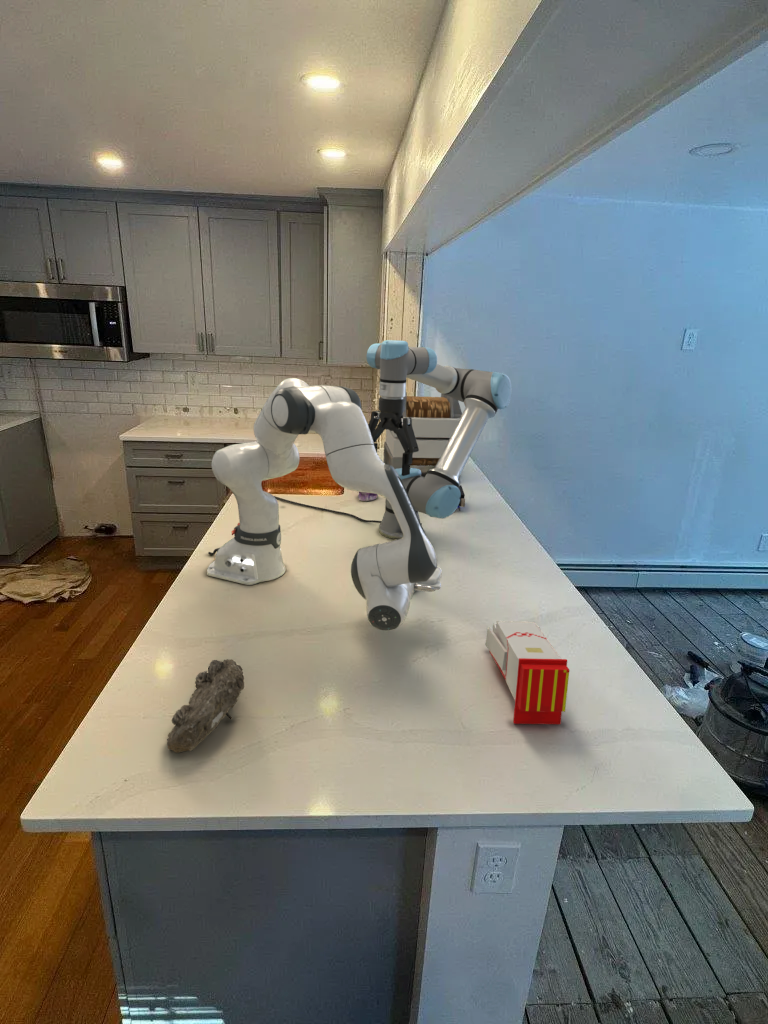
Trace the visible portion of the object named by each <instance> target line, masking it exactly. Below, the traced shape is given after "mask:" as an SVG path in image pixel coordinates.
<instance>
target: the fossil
mask: <svg viewBox="0 0 768 1024" xmlns="http://www.w3.org/2000/svg"><path fill="white" fill-rule="evenodd" d="M243 670H244V669H243V667H242V665H240V664H237V662H236V661H235V660H234V659H232V658H231V659H227V658H226V659H224V660H223V661H222V660H217V659H212V660H211V661H210V663H209V665H208V666H207V671H201V672H199V673H198V674H197V675H196V676H195V680H194V684H195V685H194V687H195V689H194V690H193V693H192V694H191V697H190V698H189V700H188V704H184V705H182V706H181V707H180V709H177V710H176V711H175V713H174V715H173V716H172V718H171V723H172V724H173V727H172V730H171V731H170V732H168V734H167V738H166V741H167V742H166V745H167V749H168V750H169V751H173V752H174V753H176V754H178V753H182V752H188V751H189V752H192V751H193V750H195V748H196V747H197V746H199V744H200V743H201V742H203V741H204V740H205V739H206V738H207V737H208V736H209V735H210V734H211V733H212V732H214V730H215V729H217V727H218V726H219V724H220V722H221V721H222V720H223V719H224V718H225V716H226V717H227V719H229V720H233V717H232V715H230V714H229V710H230V709H231V708H234V706H235V704H236V703H237V702H238V699H239V697H240V695H241V693H242V691H243V690H245V689H244V688H245V675H244V671H243Z"/></svg>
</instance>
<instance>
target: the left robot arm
mask: <svg viewBox="0 0 768 1024" xmlns="http://www.w3.org/2000/svg"><path fill="white" fill-rule="evenodd" d="M368 424H369V422H368V421H367V419H366V417H365V414H364V412H363V410H362V402H361V399H360V397H359V395H358V393H357V392H356V391H355V390H353V389H352V388H349V387H347V386H342V385H337V386H335V385H325V384H315V385H309V384H308V383H307V382H306V381H304V380H302V379H301V378H296V377H288V378H285V379H284V380H282V381H281V382H280V383H279V384H278V385H277V386H276V387H275V389H273V391H272V392H271V393H270V395H269V396H268V397H267V399H266V401H265V402H264V405H263V406H262V408H261V410H260V412H259V414H258V415H257V418H256V419H255V421H254V423H253V435H254V438H255V440H254V441H248V442H247V441H246V442H242V443H235V444H230V445H228V446H225V447H223V448H219V449H218V450H216V451H215V452H214V454H213V455H212V460H211V470H212V473H213V476H214V477H215V479H216V481H218V482H219V484H222V485H223V486H225V487H226V488H228V489H229V490H230V491H231V492H232V495H233V496H234V498H235V500H236V504H237V511H238V519H239V521H238V523H236V524H237V525H236V526H235V527H233V529H232V530H231V536H233V537H232V538H231V539H229V540H228V541H227V542H224V543H223V545H222V546H220V547H217V548H214V550H213V551H212V552H211V551H208V552H207V554H208V555H210V556H215V557H214V560H213V561H212V562H210V564H209V565H208V566H207V569H206V575H207V576H209V577H212V578H216V579H221V580H225V581H229V582H234V583H237V584H238V583H239V584H243V585H247V586H252V585H253V586H254V585H256V584H258V583H262V582H268V581H269V582H270V581H273V580H275V579H278V578H280V577H282V576H283V575H284V574H285V573H286V570H287V569H286V566H285V562H284V560H283V555H282V548H281V545H282V530H281V529H282V528H281V525H280V512H279V511H280V510H279V502H278V499H276V498H275V497H274V496H275V495H273V494H272V493H270V492H268V491H265V490H264V489H263V486H262V482H263V481H268V480H271V479H273V480H274V479H278V478H282V477H285V476H286V475H289V474H291V473H292V472H295V471H297V469H298V467H299V464H300V461H301V458H300V451H299V449H298V446H297V445H296V444H295V441H296V440H297V438H298V436H299V435H319V436H320V438H321V441H322V445H323V450H324V455H325V459H326V463H327V466H328V471H329V473H330V476H331V478H332V480H333V481H334V482H335V483H336V484H337V485H339V486H340V487H342V488H344V489H346V490H348V491H352V492H358V493H359V492H367V493H374V494H377V496H380V497H383V498H385V500H386V499H387V500H388V501H389V503H390V505H391V507H392V509H393V511H394V514H395V516H396V518H397V521H398V523H399V525H400V528H401V530H402V532H403V537H402V538H401V539H398V540H395V539H393V540H390V541H386V542H382V543H377V544H372V545H368V546H365V547H364V546H363V547H361V548H358V549H357V550H356V552H355V553H354V556H353V558H352V562H351V565H350V575H351V580H352V583H353V585H354V588H355V589H356V591H357V592H358V594H359V596H361V597H362V598H363V599H364V600H365V603H366V617H367V620H368V622H369V624H370V625H371V627H373V628H375V629H377V630H379V631H386V632H389V631H393V630H396V629H398V628H399V627H400V626H401V625H403V623H404V622H405V619H406V617H407V615H408V613H409V610H410V606H411V602H412V601H411V600H412V599H413V595H414V593H415V592H414V590H416V591H418V592H428V593H433V592H435V591H438V590H441V588H442V582H441V581H442V573H443V570H442V568H441V567H438V557H437V553H436V551H435V549H434V547H433V544H432V543H431V541H430V539H429V537H428V535H427V534H426V531H425V530H424V527H423V524H422V525H421V523H422V522H421V519H420V520H419V518H420V517H419V518H418V516H417V513H416V511H415V509H414V507H413V504H412V502H411V500H410V497H409V495H408V493H407V491H406V489H405V487H404V484H403V482H402V480H401V478H400V476H399V475H398V473H397V471H396V470H395V469H394V468H393V467H392V466H391V465H387V464H385V463H384V460H382V459H381V457H380V456H379V454H378V451H377V452H376V449H375V446H374V443H375V442H373V438H372V435H371V432H370V429H369V426H368ZM420 522H421V523H420Z"/></svg>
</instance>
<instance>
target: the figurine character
mask: <svg viewBox="0 0 768 1024" xmlns="http://www.w3.org/2000/svg"><path fill="white" fill-rule="evenodd" d="M458 489H459V490H460V493H461V497H460V498H459V499H460V502H459V505H458V507H457V509H458V511H461V510H462V509H461V508H465V505H466V497H465V496H466V494H465V492H464V488H463V486H462V485H461V484H460V486H459V488H458Z"/></svg>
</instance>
